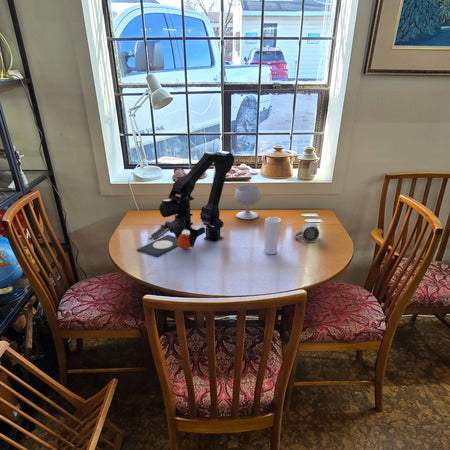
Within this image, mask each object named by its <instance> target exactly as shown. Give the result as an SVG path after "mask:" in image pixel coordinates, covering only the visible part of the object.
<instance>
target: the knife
mask: <svg viewBox="0 0 450 450" xmlns="http://www.w3.org/2000/svg"><path fill="white" fill-rule="evenodd" d="M168 230H169V229H168V228H165V224H161V225H160V228H159V229H157V230H156V231H154V232H153V233H152V234H150V237H151V240H153V239H158V238H160V237H161V236H162V235H163V234H164V233H166V232H167V231H168Z"/></svg>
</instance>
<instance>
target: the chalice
mask: <svg viewBox="0 0 450 450" xmlns="http://www.w3.org/2000/svg"><path fill="white" fill-rule="evenodd" d="M261 199H262V192H261V190H260V188H259V187H258V186H257V185H240V186H238V187H237V188H236V190H235V192H234V200H235V201H236V203H237V204H239V205H241V206H243V207H244V208H245V210H244V211H239V212H237V213H236V215H235V216H236V217H237V218H239V219H241V220H253V219H257V218H258V217H259V213H257V212H255V211H250V208H252V206H255V205H257V204H258V203H260V201H261Z"/></svg>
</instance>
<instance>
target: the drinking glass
mask: <svg viewBox="0 0 450 450" xmlns="http://www.w3.org/2000/svg"><path fill="white" fill-rule="evenodd" d="M281 226H282V219H281V218H279V217H276V216H268V217H266V218H265V219H264V225H263V228H264V229H263V230H264V252H265V253H266V254H267V255H274V254H276V253H277V252H278V246H279V239H280V234H281V228H282V227H281Z"/></svg>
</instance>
